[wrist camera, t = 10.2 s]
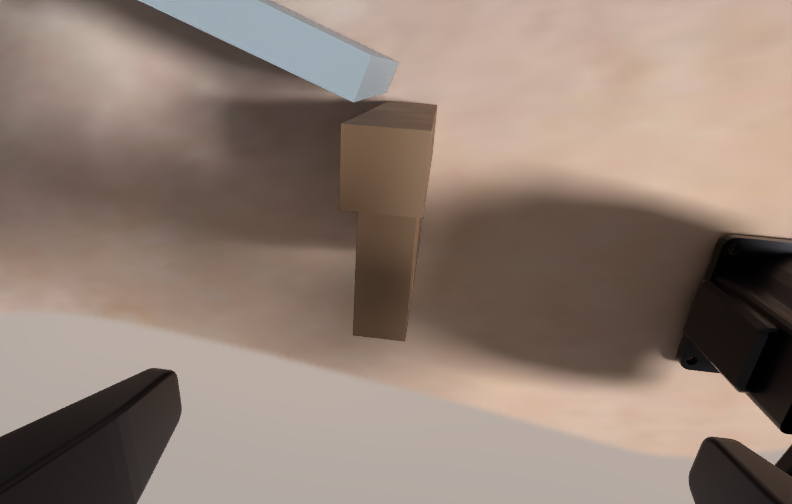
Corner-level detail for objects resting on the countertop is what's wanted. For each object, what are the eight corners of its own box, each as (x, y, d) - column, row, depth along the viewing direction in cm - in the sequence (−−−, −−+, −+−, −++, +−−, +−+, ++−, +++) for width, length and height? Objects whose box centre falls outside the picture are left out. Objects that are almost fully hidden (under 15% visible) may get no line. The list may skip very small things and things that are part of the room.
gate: (398, 62, 17) (371, 55, 11) (373, 125, 18) (334, 152, 12) (104, -80, 17) (-113, -179, 10) (94, -7, 18) (-111, -54, 11)
